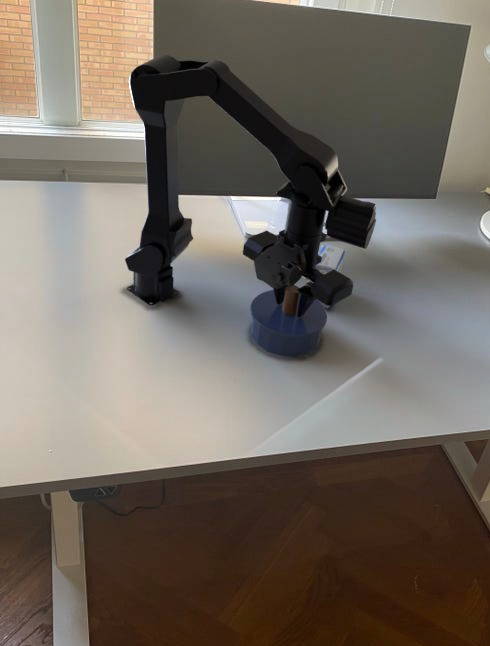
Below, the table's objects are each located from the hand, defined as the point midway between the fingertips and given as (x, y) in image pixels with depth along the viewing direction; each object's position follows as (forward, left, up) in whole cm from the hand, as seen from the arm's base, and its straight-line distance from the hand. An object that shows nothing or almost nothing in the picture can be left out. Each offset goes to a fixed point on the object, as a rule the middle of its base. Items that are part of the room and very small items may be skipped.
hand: (289, 309), depth 119 cm
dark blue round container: (0, 0, -6) cm, 6 cm away
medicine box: (-4, +15, -6) cm, 17 cm away
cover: (0, 0, -1) cm, 1 cm away
